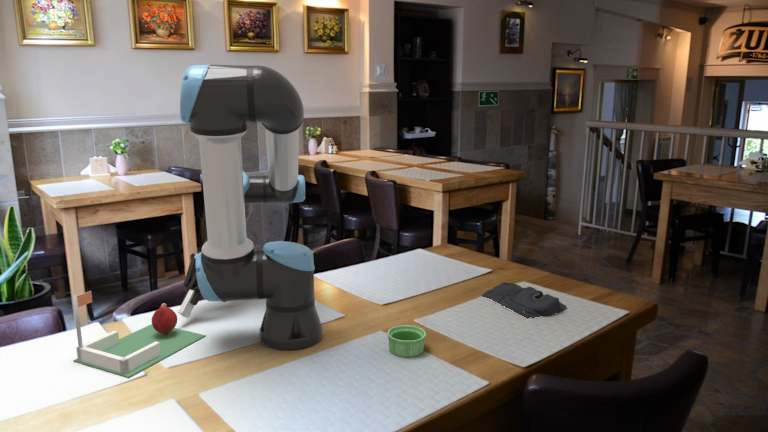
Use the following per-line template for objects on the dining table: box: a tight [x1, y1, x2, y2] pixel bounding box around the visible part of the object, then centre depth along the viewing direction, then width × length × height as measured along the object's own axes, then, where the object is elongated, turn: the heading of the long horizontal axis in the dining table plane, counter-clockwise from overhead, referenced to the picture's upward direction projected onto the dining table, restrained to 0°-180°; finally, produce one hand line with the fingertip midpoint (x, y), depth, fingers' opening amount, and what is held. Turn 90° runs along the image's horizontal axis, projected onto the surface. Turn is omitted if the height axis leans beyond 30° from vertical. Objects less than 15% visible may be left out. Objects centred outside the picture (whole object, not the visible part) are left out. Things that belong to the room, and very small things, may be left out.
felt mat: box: [73, 323, 206, 379], centre depth 134 cm, size 17×23×1 cm
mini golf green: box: [72, 290, 161, 374], centre depth 128 cm, size 14×10×15 cm
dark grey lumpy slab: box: [481, 281, 568, 319], centre depth 164 cm, size 15×22×5 cm
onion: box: [151, 302, 178, 335], centre depth 140 cm, size 6×6×8 cm
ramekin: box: [386, 324, 427, 358], centre depth 134 cm, size 9×9×4 cm
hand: (183, 315), depth 147 cm, fingers closed
